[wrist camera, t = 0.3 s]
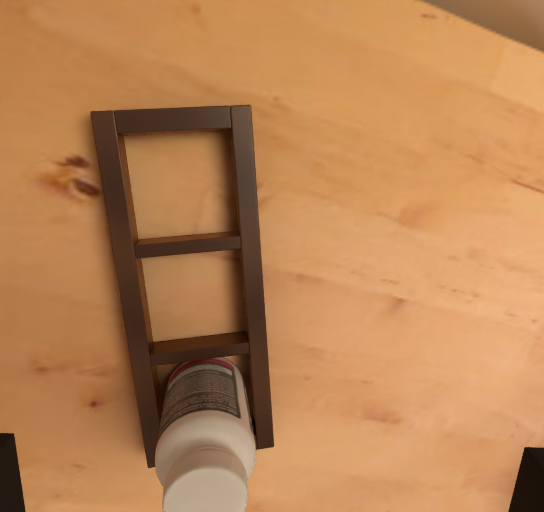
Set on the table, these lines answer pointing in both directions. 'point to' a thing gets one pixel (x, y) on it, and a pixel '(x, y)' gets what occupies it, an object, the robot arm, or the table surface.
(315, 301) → the table surface
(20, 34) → the table surface
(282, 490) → the table surface
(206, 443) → the pill bottle
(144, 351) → the bottle rack
